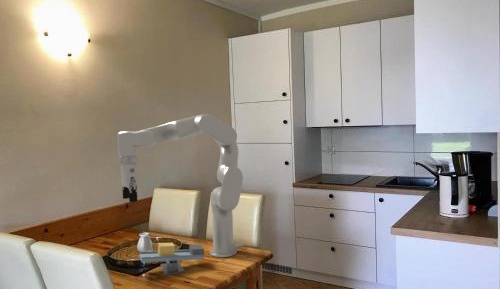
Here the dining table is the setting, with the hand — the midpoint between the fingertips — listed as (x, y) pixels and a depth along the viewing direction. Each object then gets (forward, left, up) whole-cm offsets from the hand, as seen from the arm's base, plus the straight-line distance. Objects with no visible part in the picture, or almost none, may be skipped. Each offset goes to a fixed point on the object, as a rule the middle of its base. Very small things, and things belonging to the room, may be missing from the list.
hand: (130, 200), depth 165 cm
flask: (-7, -10, -30) cm, 33 cm away
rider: (-13, +9, -23) cm, 28 cm away
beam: (-15, +9, -25) cm, 30 cm away
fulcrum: (-15, +9, -30) cm, 35 cm away
